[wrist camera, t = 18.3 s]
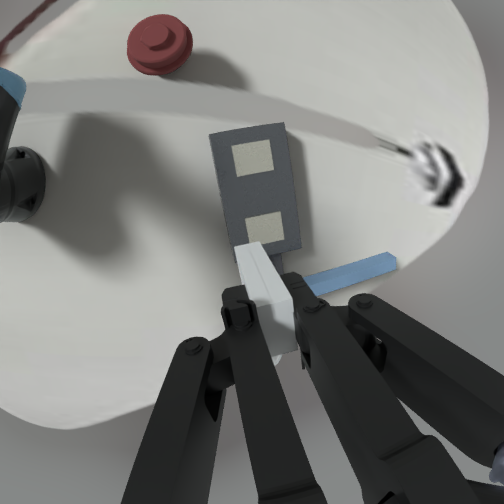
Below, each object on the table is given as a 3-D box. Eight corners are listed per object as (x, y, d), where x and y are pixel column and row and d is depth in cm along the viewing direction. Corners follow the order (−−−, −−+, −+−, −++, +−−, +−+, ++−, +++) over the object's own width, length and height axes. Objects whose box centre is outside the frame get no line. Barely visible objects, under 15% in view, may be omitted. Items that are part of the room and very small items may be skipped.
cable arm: (268, 304, 48) (272, 314, 46) (263, 283, 47) (267, 292, 44) (387, 267, 50) (395, 273, 47) (387, 246, 48) (396, 252, 46)
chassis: (232, 252, 53) (235, 264, 48) (208, 135, 45) (209, 134, 40) (293, 239, 55) (302, 248, 50) (276, 124, 46) (284, 122, 41)
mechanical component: (151, 31, 35) (202, 42, 38) (129, 78, 38) (181, 90, 41) (138, 2, 24) (203, 14, 27) (108, 60, 27) (174, 72, 30)
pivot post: (254, 285, 57) (263, 308, 49) (249, 258, 54) (258, 278, 47) (283, 278, 57) (296, 299, 49) (279, 251, 55) (292, 270, 47)
